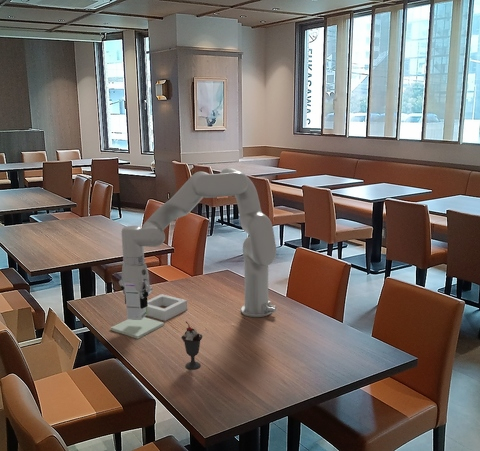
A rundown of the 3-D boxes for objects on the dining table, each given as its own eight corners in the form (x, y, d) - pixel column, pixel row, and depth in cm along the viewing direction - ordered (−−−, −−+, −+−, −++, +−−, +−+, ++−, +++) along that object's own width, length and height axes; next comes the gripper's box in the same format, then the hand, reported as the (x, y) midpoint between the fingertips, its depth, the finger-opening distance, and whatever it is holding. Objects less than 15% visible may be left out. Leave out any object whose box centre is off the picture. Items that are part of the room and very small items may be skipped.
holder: (187, 309, 213) (186, 300, 212) (165, 320, 202) (164, 311, 201) (162, 302, 220) (161, 293, 219) (139, 313, 209) (139, 304, 208)
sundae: (182, 361, 170) (181, 318, 167) (203, 360, 171) (201, 317, 167) (182, 371, 164) (180, 327, 160) (203, 370, 164) (202, 326, 161)
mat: (164, 325, 198) (163, 322, 198) (138, 338, 187) (137, 336, 187) (137, 317, 206) (137, 314, 206) (110, 330, 194) (110, 327, 194)
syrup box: (141, 320, 192) (139, 283, 189) (126, 319, 193) (124, 282, 190) (147, 314, 198) (145, 278, 194) (132, 313, 199) (130, 277, 195)
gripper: (158, 260, 189) (160, 306, 193) (124, 253, 198) (126, 297, 202) (144, 266, 183) (146, 313, 187) (109, 258, 192) (112, 303, 196)
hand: (136, 304), depth 194 cm, fingers closed on syrup box, 7 cm apart
